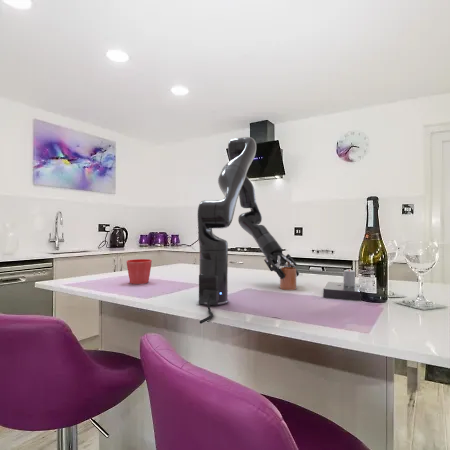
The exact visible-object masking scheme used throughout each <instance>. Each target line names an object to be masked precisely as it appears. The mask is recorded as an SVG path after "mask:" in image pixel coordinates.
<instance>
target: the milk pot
mask: <svg viewBox="0 0 450 450" xmlns="http://www.w3.org/2000/svg"><path fill="white" fill-rule="evenodd" d="M279 269H281V270H282V271H283V273H284V274H285V277H284V279H281V278H280V277H279V289H280V290H285V291H286V290H287V291H291V290H293V291H294V290H296V289H297V277H296V270H297V268H296V267H295V268H293V267H291V266H290V267H284V266H280V268H279Z"/></svg>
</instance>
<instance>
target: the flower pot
mask: <svg viewBox="0 0 450 450" xmlns="http://www.w3.org/2000/svg"><path fill="white" fill-rule="evenodd" d="M152 261H153V260H152V259H149V258H148V259H147V258H136V259H128V260H126V268H127V273H128V279H129V283H130V284H131V285H145V284H148V283H149V281H150V276H151V269H152V264H153V263H152Z"/></svg>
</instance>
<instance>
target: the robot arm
mask: <svg viewBox="0 0 450 450" xmlns="http://www.w3.org/2000/svg"><path fill="white" fill-rule="evenodd" d="M227 152H228V158H229V161H228V162H227V163H226V164H224V165H223V167H222V169H221V171H220V173H219V175H218V179H217V184H218V187H219V189H220V191H221V193H222V194H223V196H224V198H222V199H205V200H201V201H200V203H199V204H198V206H197V215H196V216H197V232H198V233H197V234H198V236H197V237H198V238H197V240H198V243H199V248H198V249H199V255H198V256H199V261H198V262H199V263H198V264H199V266H198V270H199V271H198V273H199V275H198V304H199V305H204V306H206V307H207V310H208V314H209V315H208V316H207V317H205V318H203V319H201V320H200V321H199V324H203V323H205V322H207V321H209V320H211V319H212V318H213V317H214V313H213V312H212V309H211V306H214V307H217V306H221V305H227V304H228V303H229V299H228V296H229V295H228V294H229V291H228V289H229V288H228V287H229V286H228V285H229V283H228V282H229V281H228V279H229V274H228V273H229V243H228V241H227V240H226V239H224V238H221V237H219V236H217V235H216V234H215V233H214V232H213V229H227V228H229V227H230V226H231V224H232V221H233V218H234V215H235V211H236V207H237V202H238V199H239V205H240V207H241V208H243V209H250V210H248V211H246V212H243V213H241V214H239V215H238V218H237V221H238V224H239V226H240V228H242V230H244V231H245V232H246V233H248V235H250V236H251V237H252V238H253V240H254V241H255V242H256V244H257V246H258V248H259V249H260V251H261V252H262V254H263V255H264V257H265V259H264V260H263V261H264V263H265V264H266V266H267V268H268V269H269V271H270V272H274V273H276V274H277V275H278V278H279V279H280V278H281V279H284V277H285V274H284V273H283V271H282V270H281V269H280V268H281V267H293V268H296V266H297V265H298V264H297V262H296V261H295V260H294V258H292V256H291V255H290V254H289V253H288V254H286V255H285V254H284V253H283V247H281V245H280V244H279V243H278V241H277V240H276V238H275V237H274V236H273V235H272V234H271V233H270V231H269V230H268V228H267V227H266V226H265V225H264V224H261V223H262V220H263V216H262V213H261V211H260V209H259V206H258V204H257V199H256V192H255V187H254V184H253V183H252V181H251V180H250V179H249V177H248V176H247V173H248V171H249V168H250V166H251V165H252V162H253V161H254V159H255V157H256V155H257V154H256V153H257V142H256V140H255V139H254V138H253V137H251V136H245V137H244V136H243V137H236V138H231V139H229V141H228V144H227ZM299 275H300V272H299V271H298V269H296V278H297V277H298V276H299Z"/></svg>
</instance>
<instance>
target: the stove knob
mask: <svg viewBox="0 0 450 450" xmlns="http://www.w3.org/2000/svg"><path fill="white" fill-rule="evenodd" d="M343 283H344V286H348V287H354V286H355V284H356V270H353V269H351V268H349V269H345V270H343Z"/></svg>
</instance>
